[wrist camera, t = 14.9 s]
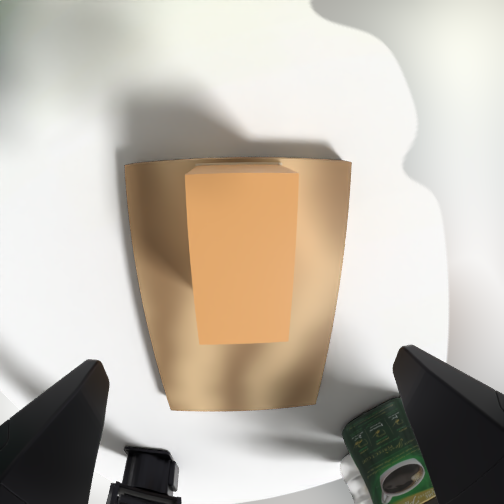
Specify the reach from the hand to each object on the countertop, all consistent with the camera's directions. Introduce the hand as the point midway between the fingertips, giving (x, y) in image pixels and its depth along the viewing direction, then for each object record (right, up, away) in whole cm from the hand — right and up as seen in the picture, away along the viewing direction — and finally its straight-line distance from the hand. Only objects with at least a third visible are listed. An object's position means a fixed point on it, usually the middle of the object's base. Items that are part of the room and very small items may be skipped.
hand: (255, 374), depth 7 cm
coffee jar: (+16, -18, +23) cm, 33 cm away
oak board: (-1, -1, +14) cm, 14 cm away
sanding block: (-1, +4, +11) cm, 11 cm away
